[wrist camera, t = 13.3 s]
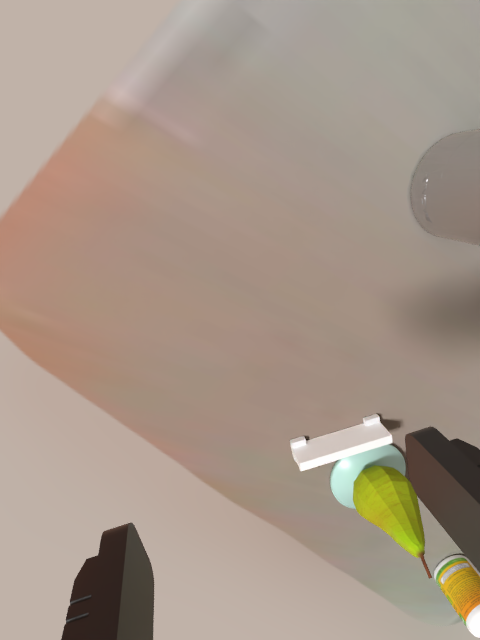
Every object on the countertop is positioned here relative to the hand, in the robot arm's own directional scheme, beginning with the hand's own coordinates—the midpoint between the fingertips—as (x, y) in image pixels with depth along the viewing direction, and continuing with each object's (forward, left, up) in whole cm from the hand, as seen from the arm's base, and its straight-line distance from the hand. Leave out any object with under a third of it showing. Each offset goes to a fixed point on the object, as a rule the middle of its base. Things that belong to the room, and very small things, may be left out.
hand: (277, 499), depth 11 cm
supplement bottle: (-23, +47, -26) cm, 59 cm away
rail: (-10, +20, -26) cm, 35 cm away
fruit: (-13, +27, -26) cm, 39 cm away
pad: (-13, +27, -26) cm, 40 cm away
